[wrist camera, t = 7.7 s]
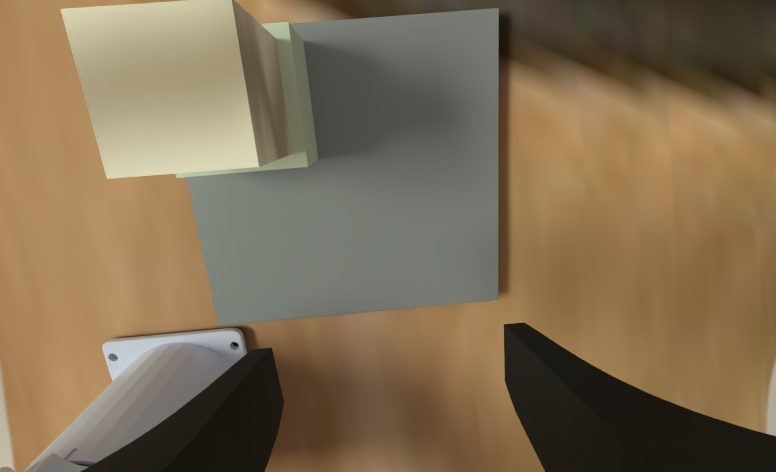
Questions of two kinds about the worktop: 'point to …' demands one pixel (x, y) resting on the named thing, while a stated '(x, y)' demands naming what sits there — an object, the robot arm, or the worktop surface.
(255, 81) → the cream block
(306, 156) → the base block
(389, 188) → the build plate
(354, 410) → the worktop surface
